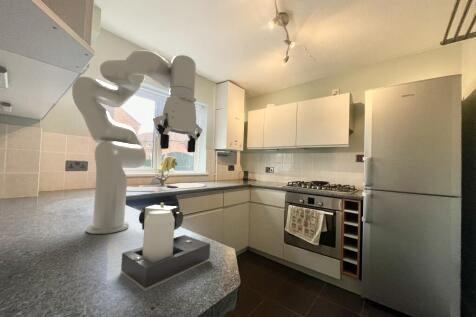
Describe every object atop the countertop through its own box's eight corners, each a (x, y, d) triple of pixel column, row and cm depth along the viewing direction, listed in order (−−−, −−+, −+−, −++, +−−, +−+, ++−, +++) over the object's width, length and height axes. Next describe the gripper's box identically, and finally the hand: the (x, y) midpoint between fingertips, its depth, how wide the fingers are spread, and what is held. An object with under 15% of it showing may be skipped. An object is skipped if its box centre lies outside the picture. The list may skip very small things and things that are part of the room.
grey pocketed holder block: (120, 272, 41) (122, 251, 41) (183, 249, 54) (184, 234, 54) (145, 291, 35) (146, 267, 35) (209, 260, 48) (210, 243, 48)
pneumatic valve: (174, 250, 53) (176, 205, 54) (136, 246, 55) (139, 203, 56) (183, 243, 58) (185, 202, 59) (149, 239, 61) (151, 200, 62)
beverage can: (135, 272, 40) (138, 213, 41) (151, 259, 46) (154, 208, 47) (163, 275, 39) (166, 215, 40) (176, 261, 45) (179, 209, 46)
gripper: (195, 106, 71) (192, 153, 70) (149, 90, 58) (145, 147, 56) (209, 103, 66) (207, 153, 65) (163, 83, 53) (159, 146, 52)
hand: (178, 150), depth 61 cm, fingers open, 9 cm apart
